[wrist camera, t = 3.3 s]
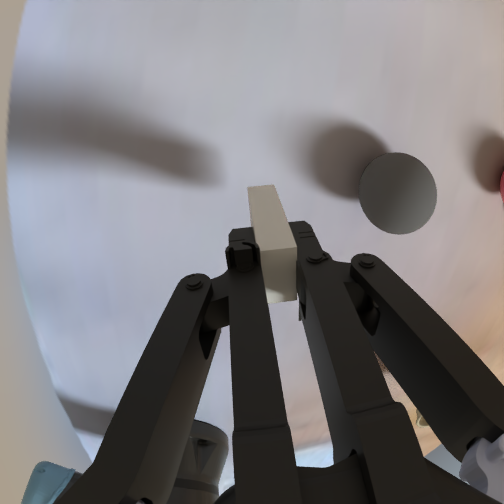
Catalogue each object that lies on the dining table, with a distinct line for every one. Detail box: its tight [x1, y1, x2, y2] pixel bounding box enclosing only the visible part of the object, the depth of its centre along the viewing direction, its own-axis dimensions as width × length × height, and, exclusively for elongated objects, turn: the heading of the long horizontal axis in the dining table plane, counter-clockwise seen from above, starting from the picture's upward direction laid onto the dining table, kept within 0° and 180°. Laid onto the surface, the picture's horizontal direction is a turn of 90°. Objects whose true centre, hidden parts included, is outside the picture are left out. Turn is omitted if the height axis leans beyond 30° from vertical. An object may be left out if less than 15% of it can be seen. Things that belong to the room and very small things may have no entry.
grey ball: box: [359, 153, 437, 234], centre depth 19 cm, size 6×6×6 cm
